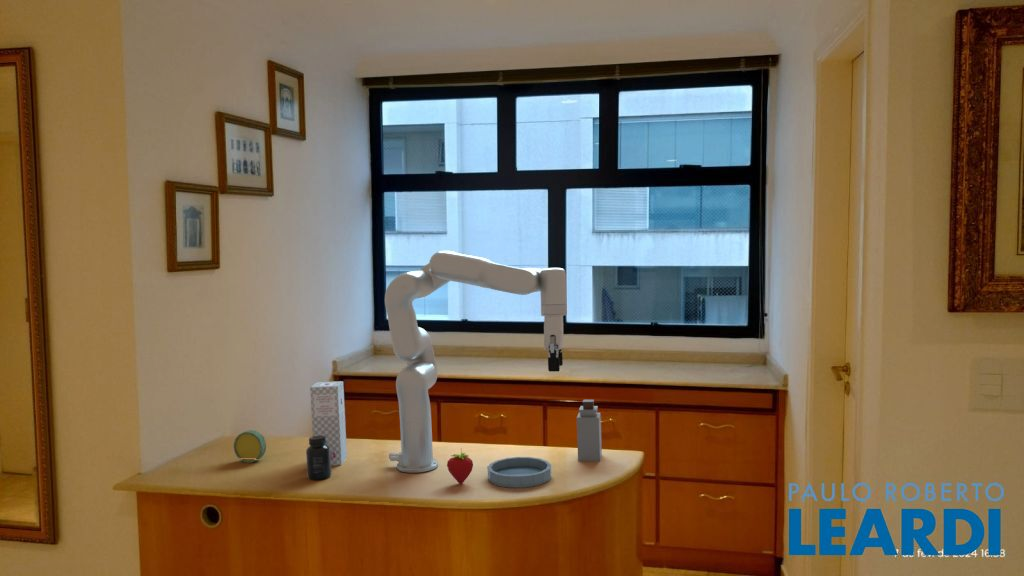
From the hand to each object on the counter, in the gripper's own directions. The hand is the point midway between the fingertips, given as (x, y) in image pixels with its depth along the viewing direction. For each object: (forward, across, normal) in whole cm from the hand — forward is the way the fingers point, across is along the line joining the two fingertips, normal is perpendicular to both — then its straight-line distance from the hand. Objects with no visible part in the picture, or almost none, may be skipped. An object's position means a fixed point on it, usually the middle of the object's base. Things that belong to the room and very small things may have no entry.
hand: (555, 368), depth 209 cm
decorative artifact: (+31, -6, -100) cm, 105 cm away
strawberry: (+31, +13, -27) cm, 43 cm away
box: (+31, -5, -74) cm, 80 cm away
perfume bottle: (+31, -13, +8) cm, 34 cm away
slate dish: (+30, +7, -11) cm, 33 cm away
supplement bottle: (+31, +10, -71) cm, 78 cm away
